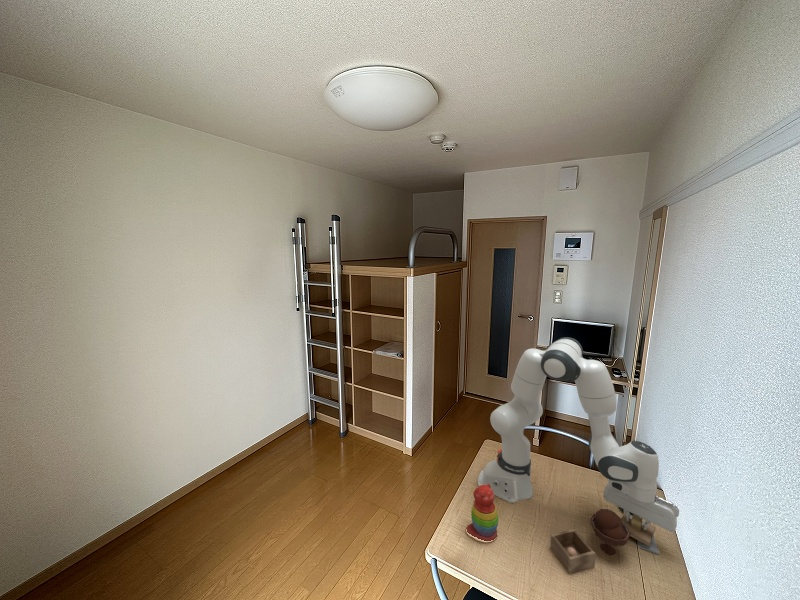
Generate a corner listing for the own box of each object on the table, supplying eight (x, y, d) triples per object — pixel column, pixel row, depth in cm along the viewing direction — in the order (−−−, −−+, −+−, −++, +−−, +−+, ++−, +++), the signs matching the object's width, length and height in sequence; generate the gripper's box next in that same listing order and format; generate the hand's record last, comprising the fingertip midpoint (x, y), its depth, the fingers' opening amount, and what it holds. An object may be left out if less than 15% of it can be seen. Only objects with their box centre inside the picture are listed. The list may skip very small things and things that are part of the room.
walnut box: (569, 576, 98) (570, 559, 97) (550, 550, 106) (550, 534, 106) (594, 569, 100) (595, 553, 99) (573, 544, 108) (573, 528, 107)
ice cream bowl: (629, 573, 98) (633, 530, 96) (587, 556, 104) (590, 515, 102) (627, 546, 107) (630, 507, 105) (588, 532, 113) (591, 494, 111)
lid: (649, 546, 104) (650, 534, 104) (617, 529, 111) (618, 518, 110) (655, 530, 110) (656, 518, 110) (624, 514, 117) (625, 504, 116)
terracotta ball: (565, 559, 102) (566, 550, 102) (566, 551, 105) (566, 542, 105) (577, 563, 101) (577, 555, 100) (577, 555, 104) (577, 546, 103)
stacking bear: (479, 514, 122) (479, 472, 119) (503, 530, 114) (504, 486, 112) (463, 532, 114) (463, 488, 111) (488, 550, 107) (489, 503, 104)
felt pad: (618, 541, 109) (618, 539, 109) (614, 517, 119) (614, 516, 118) (659, 554, 104) (659, 553, 104) (651, 528, 113) (651, 527, 113)
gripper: (681, 500, 103) (677, 538, 105) (608, 470, 118) (606, 503, 120) (678, 511, 99) (674, 550, 101) (603, 478, 114) (600, 512, 116)
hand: (636, 524), depth 110 cm, fingers closed on lid, 3 cm apart
